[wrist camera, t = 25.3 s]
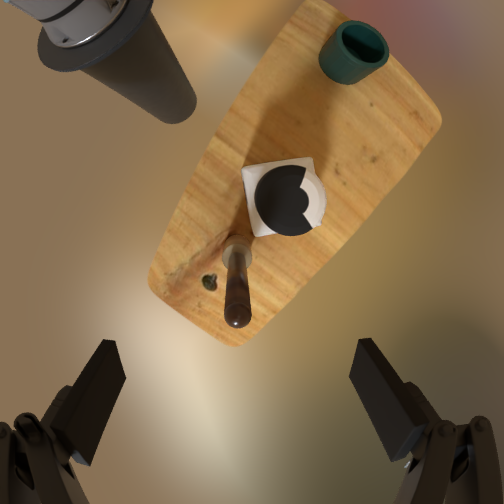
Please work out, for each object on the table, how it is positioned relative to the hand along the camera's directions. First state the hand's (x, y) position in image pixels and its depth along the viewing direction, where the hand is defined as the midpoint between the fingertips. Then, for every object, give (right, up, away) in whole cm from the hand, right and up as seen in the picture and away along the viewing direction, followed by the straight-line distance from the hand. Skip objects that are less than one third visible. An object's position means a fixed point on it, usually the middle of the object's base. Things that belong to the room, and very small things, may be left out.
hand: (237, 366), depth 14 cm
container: (+4, +14, +23) cm, 27 cm away
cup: (+14, +33, +18) cm, 40 cm away
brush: (-1, +7, +25) cm, 26 cm away
